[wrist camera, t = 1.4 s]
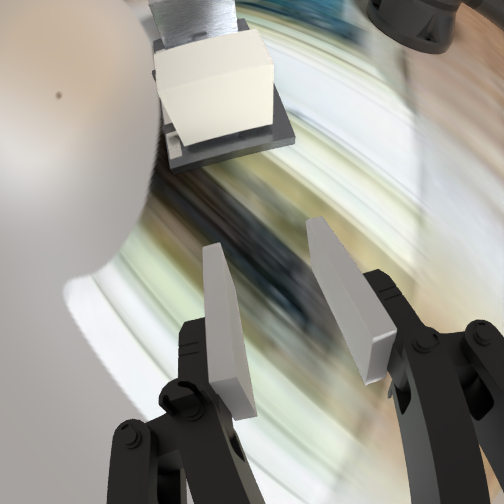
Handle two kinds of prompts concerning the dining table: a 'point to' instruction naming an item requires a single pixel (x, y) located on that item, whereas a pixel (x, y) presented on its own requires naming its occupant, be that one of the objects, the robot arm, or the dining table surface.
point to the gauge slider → (216, 86)
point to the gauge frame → (195, 29)
